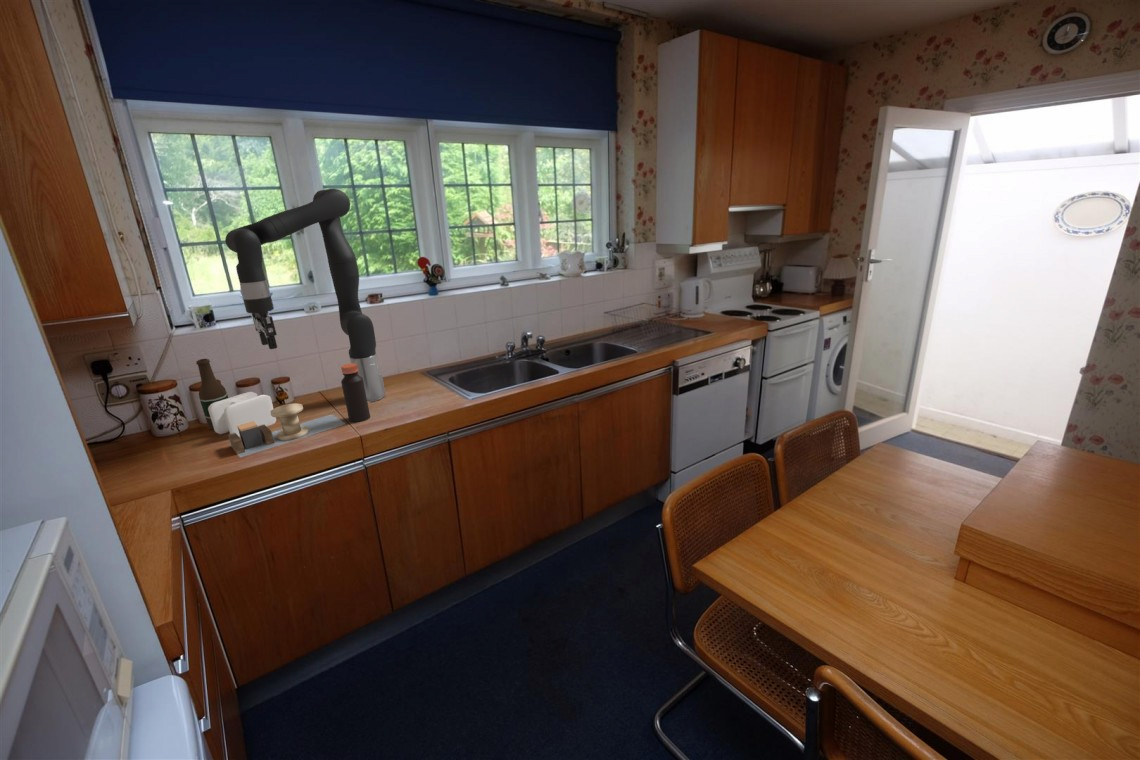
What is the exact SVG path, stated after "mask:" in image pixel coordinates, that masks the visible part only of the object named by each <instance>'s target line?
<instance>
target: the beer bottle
mask: <svg viewBox="0 0 1140 760" xmlns="http://www.w3.org/2000/svg"><path fill="white" fill-rule="evenodd" d="M210 362H211V360H210V359H208V358H201V359H197V360H196V362H195V363H196V365H197V366H198V367H197V368H198V371H199V372H198V373H199V376H200V381H201V382H200V383H201V385H200V387H199V390H198V398H199V401H200V405H201V408H202V411H203V414H204V417H205V420H206V423H207V426H208V428H209V430H211V429H212V431H215V430H214V427H213V424H212V420H211V417H210V414H209V411H208V407H209V406H210V405H211V404H212V403H214V402H218V401H221V400H224V399H227V398H229V395H228V392H227V390H226V387H225V386H224V385H223V384H222V383H220V382H219V381H217V380H218V379H217V378H216V377H215V373H214V371H213V369H212V366H211V364H210Z"/></svg>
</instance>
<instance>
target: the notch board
mask: <svg viewBox="0 0 1140 760" xmlns="http://www.w3.org/2000/svg"><path fill="white" fill-rule="evenodd" d="M258 429H259V433H260V436H261V439H262V440H263V441H264V442H265V443H266V444H267V445H269V444H273V443H274V439H273V436H272V432H273V431H272V430H271V429H270V428H269V427H268V426H267V427H266V426H265V425H260V426H258ZM227 436H228V440H229V443H230V444H229V445H230V447H231V448H232V450H233V451H234V452H235V453H236V455H237V454H241V453H244V452H245V450H244V446H243V443H242V440H241V437H239V436H238V435H237V434H236V433H232V434H230V433H229V434H227Z"/></svg>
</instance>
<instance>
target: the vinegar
mask: <svg viewBox="0 0 1140 760" xmlns="http://www.w3.org/2000/svg"><path fill="white" fill-rule="evenodd" d="M340 368H341V373H342V375H343V378H342V379H341V381H340V383H341V388H342V389H341V390H342V392H343V398H344V401H345V406H346V411H347V415H348V420H349V422H350V423H355V424H357V423H362V422H366V421H368V420H369V419H371V413H370V407H369V404H368V402H369V401H367V397H366V392H365V387H364V382H363V378H362V377H361V376H359V375H358V367H357V364H354V363H351V362H350V363H347V364H346V363H345V364H343V365H341V366H340Z"/></svg>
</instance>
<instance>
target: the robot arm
mask: <svg viewBox="0 0 1140 760" xmlns="http://www.w3.org/2000/svg"><path fill="white" fill-rule="evenodd" d="M350 210H351V200H350V197H348V194H346V193H345V192H344V191H343V190H340V189H338V188H328V189H320V190H318V191H316V192H315V194H314V195H313V199H312V201H310V202H309V203H306V204H302V205H300V206H297V207H293V208H290V209H286V210H283V211H281V212H278V213H274V214H273V215H269V216H267V217H264V218H262V219H260V220H259V221H258V220H257V221H256V222H253V223H250V224H247V225H243V226H240V227H237V228H234V229H232V230H231V231H229V232H228V233H227V234H226V236H225V239H224V240H225V241H224V242H225V244H226V246H227V248H228V249H229V250H230V251H232V252H233V253H236V257H237V264H236V266H235V269H236V275H237V278H238V281H239V286H240V292H241V297H242V300H243V304H244V307H245V311H246V313H247V314H251V317H252V320H253V324H254V329H255V331H256V332H257V334H258V335H259V339H260V343H261V345H262V346H266V345H267V346H268V349H270V350H274V349H277V348H278V345H277V341H276V336H277V330H276V327H275V324H274V320H273V316H272V315H270V316H269V314H268V313H269V312H271V311H273V310H275V308H274V307H275V306H274V304H273V299H272V294H271V291H270V288H269V285H268V282H267V280H266V275H265V272H264V268H263V250H262V248H263V247H262V245H265V244H269V243H274V242H277V241H279V240H281V239H285V238H286V237H288V236H290V235H292V234H295V233H297V232H299V231H301V230H303V229H305V228H308V227H310V226H312V225H315V224H318V225H319V228H320V232H321V234H322V239H323V243H324V248H325V249H324V250H325V253H326V257H327V264H328V268H329V272H330V276H331V277H330V278H331V279H332V284H333V288H334V293H335V296H336V299H337V304H338V305H337V306H338V315H339V322H340V323H339V324H340V327H341V330H342V332H343V333H344V334H345V335H347V336H348V341H349V346H350V347H349V349H348V356H349V361H350V364H351V363H354V364H357V367H358V375H359V376H361V377H362V378H363V382H364V387H365V392H366V397H367V402H369V403H373V402H376V401H377V402H378V401H379V400H382V399H383V398H386V397H387V396H386V390H385V386H384V385H385V384H384V379H383V373H381V372H380V369H379V368H380V367H379V362H378V358H377V352H376V347H377V340H376V334H375V329H374V323H373V321H372V320H371V318H370V317H369V316H368V315H366V314H364V313H363V312H362V308H361V305H360V300H359V286H360V272H359V267H358V262H357V258H356V257H357V256H356V255H355V252H354V250H353V248H352V246H351V245H350V243H349V241H348V240H347V237H346V235H345V233H344V231H343V227H342V221H341V218H342V217H344V216H346V215H347V214H348V213H349V211H350Z"/></svg>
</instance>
